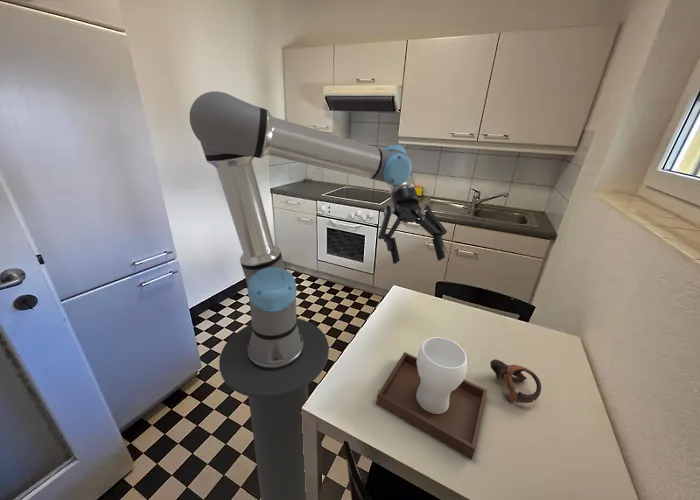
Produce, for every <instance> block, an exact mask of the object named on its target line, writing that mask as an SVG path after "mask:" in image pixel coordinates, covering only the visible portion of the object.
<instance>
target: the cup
mask: <svg viewBox="0 0 700 500" xmlns="http://www.w3.org/2000/svg"><path fill="white" fill-rule="evenodd" d="M417 352H418V353H417V356H416V358H417V368H418V374H419V376H420V378H421V383H420V385H419V387H418V390H417V393H416V398H417V401H418V403H419V404H420V406H421V407H422V408H423V409H424V410H426V411H428V412H430V413H433V414H442V413H444V412H446V411H447V410H448V407H449V397H450V393H451V391H453V390H455V389H456V388H457V387H458V386H459V385H460V384H461V383H462V381H463V380H465V377H466V373H467V370H468V362H467V361H468V358H467V354H466V352H465V350H464V348H462V346H460V345H459V344H458V343H457V342H455V341H454V340H451V339H449V338H445V337H440V336H433V337H429V338H427V339H426V340H424V341H423V343H422V344H421V345H420V348H419V349H418V351H417Z"/></svg>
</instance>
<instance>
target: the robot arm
mask: <svg viewBox="0 0 700 500" xmlns="http://www.w3.org/2000/svg"><path fill="white" fill-rule="evenodd" d="M189 124H190V127H191V130H192V132H193V134H194V136H195V138H196V139H197V141H199V142H200V146H201V149H202V151H203V154H204V157H205V161H206V163H208V164H209V165H211V166H212V167H214V168H215V169H216V173H217V175H218V179H219V182H220V185H221V188H222V192H223V194H224V197H225V200H226V203H227V207H228V209H229V213H230V216H231V219H232V222H233V225H234V228H235V232H236V234H237V237H238V242H239V245H240V247H241V250H242V254H241V255H240V257H239V262H240V265H241V268H242V272H243V275H244V278H245V281H246V282H245V283H246V287H247V295H248V302H249V309H250V320H251V324H252V329H253V331H252V334H251V339H250V341H249V344H248V348H247V351H248V358H249V360H250V362H251V363H252V364H253V365H254V366H255V367H257V368H259V369H263V370H279V369H283V368H286V367H288V366H290V365H292V364H293V363H295V362H296V361H297V360H298V359H299V358H300V357H301V355H302V353H303V348H304V343H303V338H302V336H301V335H302V334H300V333H301V332H300V330H299V329H298V327H297V323H296V318H297V283H296V279H295V277H294V276H293V274H292V273H291V272H290V271H288V270H286V267H285V263H284V259H283V255H282V252H281V248H280V247H279V246H276V245H275V244H274V242H273V237H272V234H271V230H270V227H269V223H268V217H267V214H266V211H265V208H264V203H263V200H262V195H261V191H260V188H259V184H258V180H257V177H256V173H255V169H254V168H255V167H254V164H253V160H254V158H256V159H263V158H264V157H266V156H271V157H275V158H280V159H282V160H283V159H284V160H287V161H293V162H296V163H301V164H306V165H309V166H313V167H318V168H323V169H327V170H331V171H336V172H340V173H345V174H349V175H352V176H358V177H362V178H367V179H369V180H373V181H379V182H383V183H386V184H387V186H388V190H389V195H390V199H391V203H392V204H391V205H392V207H391V206H390V205H387V206H386V207H385V208H384V210H383V220H382V223H381V226H380V229H379V233H378V235H377V239H378V240H383V242H384V243H385V244H386V245H385V246H386V249H387V252H390V254H391V259H392V264H393V265H396V264H397V263H399V262H400V259H401V258H400V254H399V251H398V245H397V242H396V237H393V235H394V234H395V233H396V231H397V229H398V228H399V226H400V224H401V223H404V224H407V223H411V224H412V223H415V224H416V225H419V226H420V227H421V228H422V229H424V230H425V232H427V233H428V234H429V235H431V236H432V237H433V238H432V244H433V247H434V248H433V249H434V251H435V255H436V259H437V261H442V260H443V259H445V258H446V255H445V250H444V247H445V243H444V239H443V236H444V235H446V234H447V233H448V230H447V229H446V228H445V227H444V225H443V224H442V223H441V222H440V220H439V219H438V218H437V216H436V215H435V213H434V212H433V211H432V208H431V207H430V205H429V204H427V205H426V206H423V207H421V206H420V203H419V197H418V193H417V190H416V185H415V183H414V178H413V174H412V172H413V171H412V170H413V166H412V165H413V164H412V161H411V160H410V158H409V157H408V155H407V151H406V149H405V148H404V147H403V146H402V145H400V144H394V145H391V144H390V145H388V146H386V147H385V148H378V147H376V146H373V145H370V144H367V143H363V142H359V141H356V140H353V139H350V138H347V137H346V138H345V137H344V136H343V137H342V136H339V135H336V134H333V133H330V132H325V131H323V130H318V129H315V128H312V127H309V126H305V125H302V124H298V123H295V122H292V121H287V120H285V119H281V118H278V117H275V116H272V114H271V113H270V111H269V110H268V109H267V108H263V107H260V106H258V105H254V104H252V103H249V102H246V101H245V100H242V99H239V98H237V97H235V96H233V95H231V94H229V93H226V92H223V91H208V92H205V93H202V94H201V95H199V96H198V97H196V99H194V100H193V102H192V104H191V107H190V109H189ZM393 214H394V215H395V216H396V220H395V221H394V223H393V224H392V226H391V227H390V229H389V231H388V232H387V229H388V227H389V223H390V220H391V217H392V215H393Z"/></svg>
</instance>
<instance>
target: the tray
mask: <svg viewBox="0 0 700 500" xmlns="http://www.w3.org/2000/svg"><path fill="white" fill-rule="evenodd" d="M420 383H421V378H420V376H419V374H418V368H417V356H414V355H412V354H410V353H407V352H406V351H404V352H403V354H402V355H401V357H400V358H399V360H398V362H397V363H396V365H395V366H394V367H393V369H392V371H391V372H390V374H389V376H388V377H387V379H386V380H385V382H384V384H383V385H382V387H380V390H379V391H378V393H377V395H376V396H377V397H376V402H375V404H376V405H378V406H380V407H381V408H383V409H385V410H387V411H388V412H389V413H392V414H394V415H395V416H397V417H398V418H400V419H402V420H403V421H406V422H407V423H409V424H410V425H412V426H415V427H416V428H417V429H419V430H421V431H422V432H424V433H426V434H428V435H430V436H432V437H433V438H435V439H437V440H438V441H440V442H442V443H444V444H445V445H446V446H449V447H450V448H452V449H454V450H455V451H457V452H458V453H460V454H462V455H464V456H466V457H467V458H469V459H470V460H472V459H473V457H474V454H475V451H476V449H477V443H478V439H479V438H478V437H479V433H480V429H481V424H482V419H483V414H484V408H485V405H486V404H485V403H486V399H487V394H488V389H486V388H484V387H481V386H479V385H477V384H475V383H473V382H471V381H469V380H467V379H464V380H463V381H462V383H461V384H460V385H459V386H458V387H457V388H456V389H455V390H453V391H451V393H450V397H449V407H448V410H447V411H446V412H444V413H442V414H433V413H430V412H428V411H426V410H424V409H423V408H422V407H421V406H420V404H419V403H418V401H417V398H416V393H417V390H418V387H419V385H420Z"/></svg>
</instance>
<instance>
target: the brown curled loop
mask: <svg viewBox="0 0 700 500" xmlns="http://www.w3.org/2000/svg"><path fill="white" fill-rule="evenodd" d="M490 368H491V370H492V371H493V373H494V374H495V377H496V379H497V380H499V378H500V377H504V382H505V386H506V388H507V390H508V392H509V393H507V394H505V398H506V399H507V400H508V401H509V402H516V403H520V404H530V403H533V402H534V401H537V399H538V398H539V397H540V395H541V392H542V383H541V381H540V378H539V377H538V376H537V374H535V372H533V371H532V370H531V369H529V368H527V367H524V366H521V365H519V364H506V363H505V362H504V361H501V360H499V359H496V358H495V359H492V360H490ZM522 372H526V373H527V374H528V375H530V376H531V377H532V378H533V381H534V382H535V384H536V389H535V391H534V392H533V393H532V394H525V393H523V392H522V391H518V393H517V392H516V390H515V389H516V386H515V384H514V382H513V376H514V377H516V378H517V379H519V381H521V382H522V383H523V382H524V381H525V380H527V379H528V378H527V376H526V375H525V374H524V373H522Z"/></svg>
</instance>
